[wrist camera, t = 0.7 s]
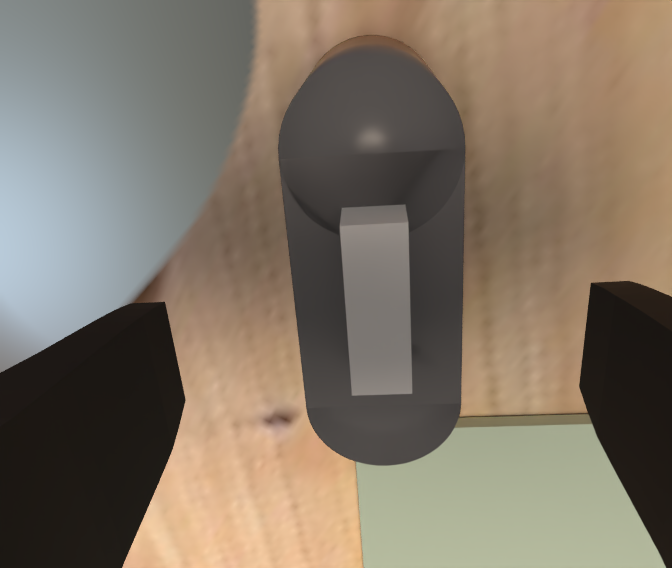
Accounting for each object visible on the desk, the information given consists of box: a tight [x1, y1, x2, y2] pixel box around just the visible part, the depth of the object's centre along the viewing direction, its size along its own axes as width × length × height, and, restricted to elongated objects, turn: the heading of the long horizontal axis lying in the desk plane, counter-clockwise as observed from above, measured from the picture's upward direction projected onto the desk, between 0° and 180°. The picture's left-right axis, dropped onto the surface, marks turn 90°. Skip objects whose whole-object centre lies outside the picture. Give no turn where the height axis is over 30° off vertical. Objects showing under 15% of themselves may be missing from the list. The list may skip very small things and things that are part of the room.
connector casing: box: [278, 35, 465, 466], centre depth 14 cm, size 3×9×6 cm, turn 4°
